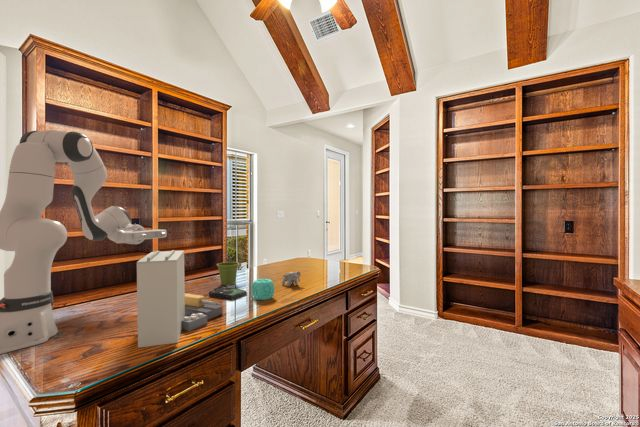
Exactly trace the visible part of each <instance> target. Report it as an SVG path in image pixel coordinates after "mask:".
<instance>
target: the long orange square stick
mask: <svg viewBox="0 0 640 427" xmlns="http://www.w3.org/2000/svg"><path fill="white" fill-rule="evenodd" d="M204 304H209V305H215V306H217V305H218V306H222V304H221V303H220V302H218V301H213V300H207V299H205V295H201V294H200V295H199V294H193V293H186V292H185V305H190V306H196V307H199V306H202V305H204Z"/></svg>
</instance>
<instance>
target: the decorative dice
mask: <svg viewBox="0 0 640 427" xmlns="http://www.w3.org/2000/svg"><path fill="white" fill-rule="evenodd" d="M251 293H252V296H253V298H254V300H257V301H267V300H270V299H272V298H273V297H274V295H275V285H274V282H273V280H272V279H269V278H259V279H255V280H254V281H253V282H252V285H251Z"/></svg>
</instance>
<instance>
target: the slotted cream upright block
mask: <svg viewBox="0 0 640 427" xmlns="http://www.w3.org/2000/svg"><path fill="white" fill-rule="evenodd" d="M185 286H186V285H185V250H175V249H172V250H165V251H164V250H163V251H160V250H156V251H151V252H150V253H147V255H145V256H144V257H142V258H140V259H139V260H138V261H136V296H137V297H136V298H137V304H136V305H137V307H136V308H137V312H136V313H137V348H138V349H139V348H145V347H155V346H161V345H170V344H178V343H179V340H180V337H181V334H182V330H183V329H182V319H183V318H184V317H186V316H185V293H186V292H185Z"/></svg>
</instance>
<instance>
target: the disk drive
mask: <svg viewBox="0 0 640 427" xmlns="http://www.w3.org/2000/svg"><path fill="white" fill-rule="evenodd" d="M247 293H248V292H247V290H244V289H241V288H240V289H239V288H233V287H228V286H222V287H219V288H217V289H215V290H210V291H209V292H208V296H209V297H213V298H217V299H223V300H227V301H228V300H229V301H233V300H237V299H239V298H242V297H245V296H247V295H248V294H247Z"/></svg>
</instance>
